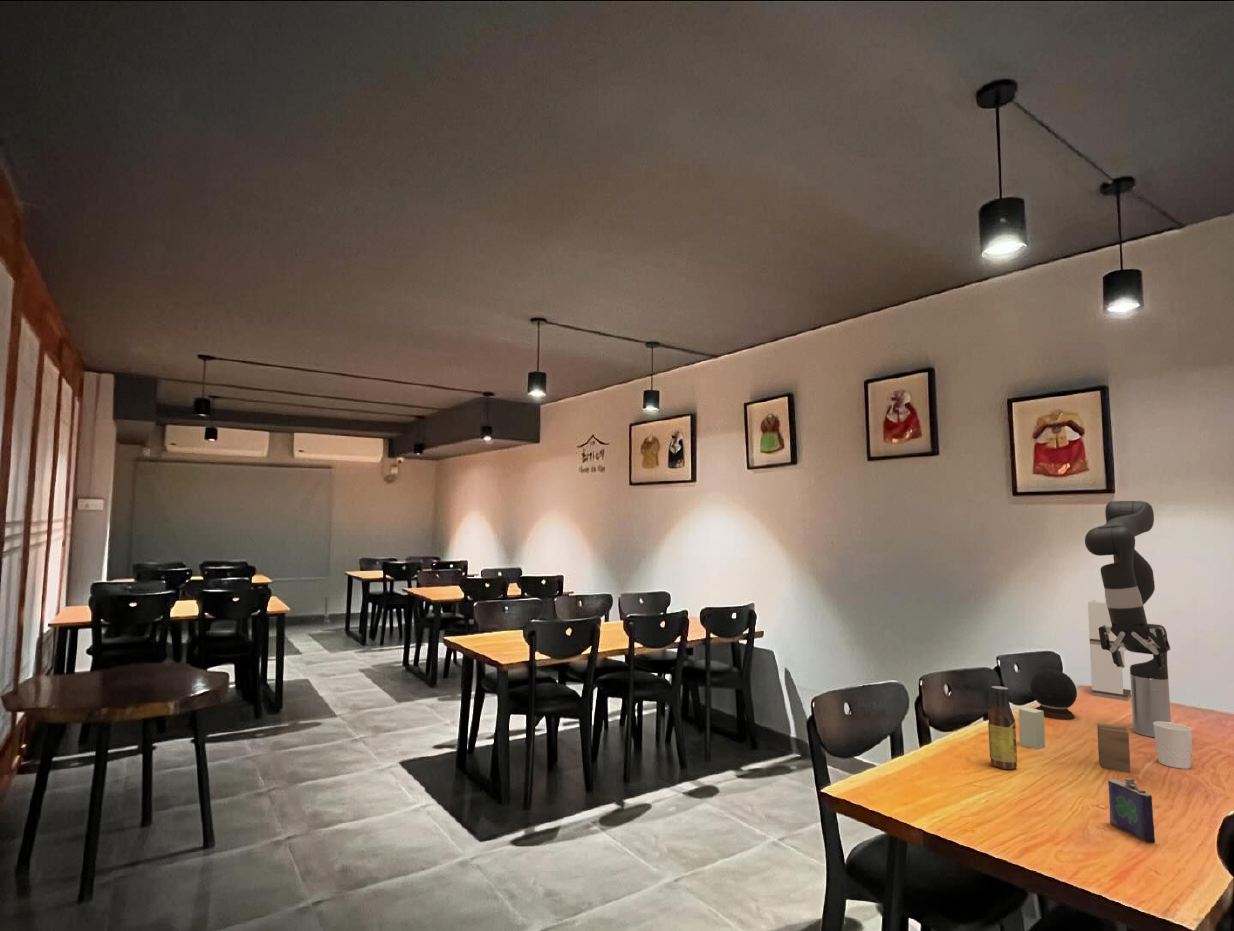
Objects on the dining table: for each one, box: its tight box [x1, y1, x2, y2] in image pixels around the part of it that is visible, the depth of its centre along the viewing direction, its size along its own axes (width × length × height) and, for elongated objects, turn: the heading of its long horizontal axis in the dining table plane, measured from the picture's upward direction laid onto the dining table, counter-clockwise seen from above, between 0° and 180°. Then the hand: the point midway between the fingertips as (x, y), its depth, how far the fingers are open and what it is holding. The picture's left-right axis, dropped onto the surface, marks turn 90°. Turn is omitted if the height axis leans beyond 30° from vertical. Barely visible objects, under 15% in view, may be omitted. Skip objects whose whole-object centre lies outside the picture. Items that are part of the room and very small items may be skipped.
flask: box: [1107, 777, 1156, 844], centre depth 136 cm, size 9×3×11 cm, turn 8°
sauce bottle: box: [987, 685, 1018, 770], centre depth 174 cm, size 7×6×20 cm
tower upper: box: [1096, 722, 1130, 753], centre depth 174 cm, size 6×6×5 cm
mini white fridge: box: [1087, 599, 1131, 702], centre depth 254 cm, size 11×11×35 cm
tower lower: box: [1097, 742, 1131, 774], centre depth 174 cm, size 6×6×5 cm
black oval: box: [1029, 668, 1078, 721], centre depth 223 cm, size 13×13×15 cm
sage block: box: [1018, 706, 1046, 750], centre depth 190 cm, size 4×4×10 cm
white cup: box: [1153, 722, 1193, 770], centre depth 177 cm, size 8×8×10 cm
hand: (1139, 667), depth 171 cm, fingers open, 8 cm apart
